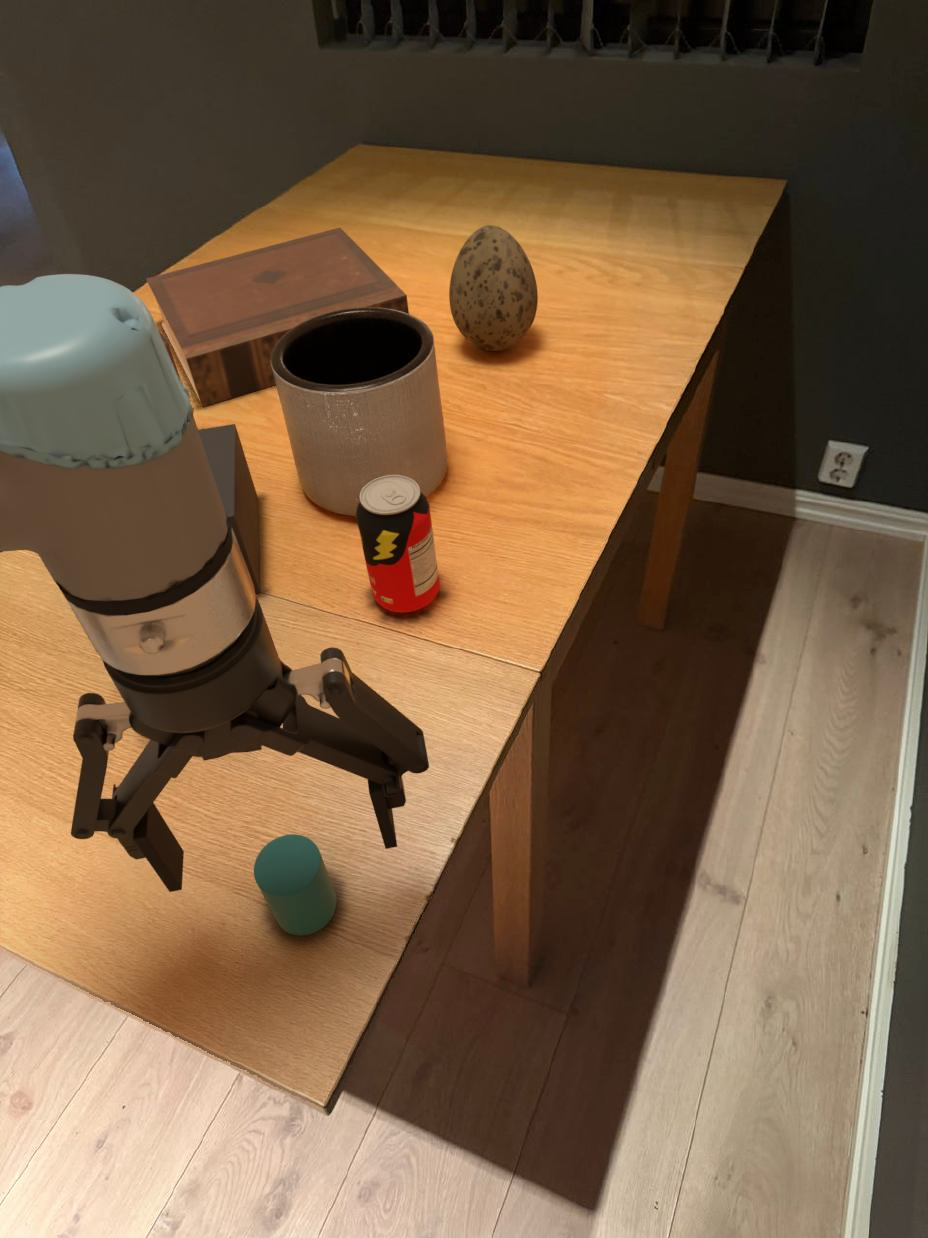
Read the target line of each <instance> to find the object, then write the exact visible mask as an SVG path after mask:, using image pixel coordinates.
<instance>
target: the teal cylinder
mask: <svg viewBox="0 0 928 1238" xmlns="http://www.w3.org/2000/svg"><path fill="white" fill-rule="evenodd" d="M255 858H256V859H255V862H254V866H253V876H254V877H253V878H254V881H255V883H256V884H257V886H258V888H259V890H260V892H261V894H262V896H263V898H264V900H265V902H266V904H267V905H268V908H269V909H270V912H271V913H272V915H273V917H274V920H275V921H276V923H277V925H278V926H279V927H280V929H282V930H283V931H284V932H286V933H288V934H290V935H293V936H302V937H303V936H309V935H312V934H315V933H317V932H318V931H320V930H322V929H323V928H324V927H326V926H327V925H328V924H329V923H330V921H331V920H332V918H333V916H334V915H335V912H336V909H337V903H338V898H337V893H336V890H335V888H334V885H333V883H332V880H331V878H330V875H329V872H328V870H327V867H326V865H325V864H326V863H325V862H324V859H323V857H322V854H321V851H320V849H319V848H318V846H317V844H316V843H315V842H314V841H313V840H312V839H310V838H309V837H306V836H304V835H302V834H285V835H281V836H278V837H276V838H274V839H272V840H271V841H269V842H268V843H267V844H266V845H264V846H263V848H261V850H260V851H259V853H258V855H257V857H255Z"/></svg>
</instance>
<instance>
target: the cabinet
mask: <svg viewBox="0 0 928 1238" xmlns="http://www.w3.org/2000/svg"><path fill="white" fill-rule="evenodd" d="M198 432H199V435H200V438H201V441H202V444H203V447H204V450H205V453H206V456H207V459H208V462H209V465H210V468H211V471H212V474H213V477H214V480H215V483H216V486H217V489H218V492H219V495H220V498H221V501H222V504H223V507H224V510H225V512H226V513H227V516H228V518H229V521H230V524H231V527H232V529H233V531H234V534H235V536H236V539H237V542H238V545H239V547H240V550H241V553H242V555H243V558H244V561H245V563H246V566H247V569H248V571H249V574H250V577H251V580H252V582H253V585H254V589H255V595H257V594H260V593H261V563H260V562H261V560H260V559H261V558H260V556H261V555H260V518H259V517H260V514H259V513H260V512H259V497H258V493H257V491H256V488H255V487H256V486H255V484H254V481H253V478H252V475H251V471H250V467H249V464H248V461H247V458H246V454H245V451H244V448H243V445H242V442H241V438H240V435H239V432H238V428H237V426H236V423H231V424H226V425H225V424H224V425H221V426H213V427H207V428H201V429H198Z"/></svg>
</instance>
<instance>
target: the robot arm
mask: <svg viewBox="0 0 928 1238" xmlns="http://www.w3.org/2000/svg"><path fill="white" fill-rule="evenodd" d="M158 330H159V329H158V326H157V324H156V322H155V320H154V317H153V315H152V313H151V311H150V310H149V308H148V307H147V306H146V304H145V302H144V301H143V300H142V299H141V298H140V297H139V296H138V295H137V294H135V293H134V292H133V291H131V289H129V288H128V287H126V286H124V285H122V284H120V283H118V282H115V281H113V280H111V279H107V278H104V277H102V276H101V277H100V276H96V275H91V274H79V273H61V274H49V275H42V276H38V277H35V278H33V279H31V280H30V281H29V282H26V283H22V284H18V285H12V284H11V285H10V284H9V285H1V286H0V553H3V552H16V551H29V552H33V553H35V554H37V555H38V556H39V558H40V560H41V561H42V563H43V565H44V567H45V568H46V570H47V571H48V573H49V575H50V577H51V578H52V579H53V581H54V583H55V584H56V586H58V588H59V590H60V592H61V593H62V595H63V596H64V599H65V600H66V601H67V603H68V605H69V607H70V609H71V610H72V612H73V613H74V615H75V617H76V619H77V621H78V622H79V624H80V626H81V628H82V630H83V631H84V633H85V634H86V637H87V638H88V640H89V642H90V643H91V646H92V647H93V649H94V650H95V652H96V653H97V655H98V656H99V657H100V659H101V660H102V663H103V666H104V668H105V670H106V672H107V674H108V675H109V678H110V679H111V680H112V683H113V684H114V686H115V688H116V689H117V691H118V693H119V694H120V696H121V698H122V700H123V701H122V702H112V703H106V700H105V698H104V697H103V696H102V695H101V694H99V693H95V692H87V693H83V694H81V696H80V697H79V698H78V704H77V710H76V717H75V722H74V728H73V734H72V739H73V741H74V743H75V746H76V749H77V750H78V753H79V755H80V756H81V758H82V759H81V765H80V771H79V778H78V784H77V790H76V797H75V802H74V811H73V814H72V815H73V816H72V822H71V829H70V836H72V838H75V839H77V840H87V839H91V838H93V836H95V832H105V833H107V835H108V836H109V837H110V838H112V839H117V841H118V842H119V844H120V845H121V847H123V849H124V850H125V852H126V853H127V854H128V856H129V857H130V858H132V859H134V860H136V861H137V860H142V859H146V861H147V862H148V863H149V865H150V866H151V867H152V869H153V870H154V872H155V873H156V875H157V876H158V877H159V879H160V881H162V883H163V885H164V886H165V888H166V889H167V890H168V892H169V893H172V892H177V891H182V890H183V877H184V875H183V873H184V856H185V851H184V849H183V848H182V847H181V844H180V842H179V841H178V840H177V838H176V837H175V835H174V833H173V831H172V830H171V829H170V827H169V825H168V824H167V822H166V821H165V819H164V817H163V816H162V814H161V812H160V811H159V809H158V807H157V806H156V805H155V803H154V802H155V801H156V800H157V798H158V797H159V796H160V794H161V793H162V791H163V790H164V789H165V787H166V786H167V785H168V783H169V782H170V781H171V779H177V778H178V777H179V775H180V774H181V773H182V771H184V769H185V767H186V766H187V764H188V763H189V762H190V761H191V759H192V758H193V757H194V758H202V760H203V762H204V761H209V760H215V759H219V758H222V757H224V756H227V755H229V754H230V755H231V754H240V753H251V752H257V751H262V750H263V747H265V748H268V749H270V750H273V751H275V752H278V753H280V754H283V755H286V756H289V757H293V756H294V755H296V754H297V753H300V754H302V755H305V756H307V757H309V758H313V759H315V760H317V761H320V762H323V763H325V764H327V765H330V766H333V767H335V768H338V769H341V770H343V771H345V772H348V773H351V774H353V775H355V776H358V777H360V778H363V779H365V780H367V787H368V794H369V797H370V801H371V804H372V807H373V812H374V814H375V818H376V822H377V825H378V827H379V828H378V829H379V831H380V835H381V838H382V842H383V845H384V849H385V850H388V849H392V848H396V847H398V841H397V835H396V827H395V820H394V813H393V809H397V808H402V807H405V805H406V802H407V797H406V792H405V791H406V790H405V785H404V779H403V775H404V774H406V773H408V772H409V773H412V774H415V775H417V774H422V773H425V772H426V771H428V770H429V768H430V763H429V757H428V752H427V746H426V741H425V740H426V739H425V735H424V731H423V729H421V727H420V726H418V725H417V724H416V723H414V722H413V721H412V720H410V718H408V717H407V716H406V715H405V714H404V713H402V712H401V711H400V710H399V709H397V708H396V707H395V706H394V705H392V704H391V703H390V702H389V701H388V700H386V699H385V698H384V697H383V696H382V695H380V694H379V693H378V692H377V691H375V689H373V688H372V686H371V687H370V685H368V684H367V683H366V682H365V681H364V680H362V679H361V678H360V677H359V676H358V675H356V674H355V673H354V672H353V671H352V669H351V667H350V664H349V662H348V660H347V658H346V656H345V654H344V652H343V651H342V649H341V648H338V647H327V648H325V649H323V650H322V651H321V652H320V655H319V656H320V663H316V664H311V665H308V666H304V667H301V668H297V669H293V668H291V667H290V666H289V665H287V664H286V663H284V662H283V661H282V660H281V659H280V656H279V653H278V651H277V648H276V645H275V643H274V640H273V637H272V634H271V632H270V628H269V625H268V623H267V620H266V617H265V614H264V612H263V609H262V606H261V603H260V601H259V599H258V598H257V594H255V589H254V585H253V582H252V580H251V577H250V574H249V571H248V569H247V566H246V563H245V561H244V558H243V555H242V553H241V550H240V547H239V545H238V542H237V539H236V536H235V534H234V531H233V529H232V527H231V524H230V521H229V518H228V516H227V513H226V512H225V510H224V507H223V504H222V501H221V498H220V495H219V492H218V489H217V486H216V483H215V480H214V477H213V474H212V471H211V468H210V465H209V462H208V459H207V456H206V453H205V450H204V447H203V444H202V441H201V438H200V435H199V432H198V430H199V428H198V426H196V425H197V422H196V420H195V417H194V409H195V408H194V406H192V404H191V396H190V392H189V390H188V388H187V386H186V385H185V383H184V382H183V380H182V378H181V377H179V376H180V375H179V376H178V375H177V372H176V370H175V368H174V365H173V363H172V361H171V359H170V356H169V354H168V352H167V349H166V347H165V345H164V342H163V340H162V338H161V335H160V333H161V332H160V333H159V331H160V330H159V331H158ZM195 422H196V423H195ZM197 428H198V429H197ZM304 696H308V697H309V696H310V697H312V698H313V699H314V700H315V701H316V702H319V707H320V708H321V709H323V710H329V709H331V710H332V711H333V713H334V714H335V715H336V716H335V715H334V714H330V713H327V712H326V711H323V710H321V709H320V708H317V707H314V706H312V705H310V704H309V703H308V702H307V700H306V698H305V697H304ZM281 726H282V727H281ZM128 729H132V731H134V732H135V733H136V734H137V735H139V736H142V737H144V738H146V739H148V740H149V741H148V742H147V744H146V745H145V747H144V748H143V750H142V751H141V753H140V754H139V755H138V756H137V758H136V760H135V761H134V763H133V764H132V766H131V767H130V769H129V770H128V772H127V773H126V775H125V776H124V778H123V779H122V781H121V782H120V783H119V785H118V786H116V784H115V783H114V784H113V785H112V794H111V798H102V796H103V795H102V794H103V790H104V783H105V779H106V773H107V769H108V762H109V755H110V751H113V750H115V747H116V743H118V742H120V741H121V740H122V739H123V733H124V731H126V730H128Z"/></svg>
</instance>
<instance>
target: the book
mask: <svg viewBox="0 0 928 1238" xmlns="http://www.w3.org/2000/svg"><path fill="white" fill-rule="evenodd" d="M384 271H385V270H384ZM384 271H383V269H382V268H381V267H380V266H379V265H378V264H377V263H376V262H375V261H374V260H373V259H372V258H371V256H369V255H368V254H367V253H366V252H365V251H364V250H363V249H362V248H361V247H360V246H359V245H358V244H357V243H356V241H354V239H352V238H351V237H350V235H349V234H347V233H346V232H345V230H343V228H341V227H337V228H333V229H330V230H325V231H322V232H318V233H314V234H310V235H306V236H303V237H298V238H295V239H291V240H287V241H283V242H280V243H276V244H272V245H269V246H264V247H261V248H257V249H254V250H249V251H246V252H242V253H237V254H234V255H231V256H227V257H223V258H219V259H216V260H212V261H207V262H204V263H200V264H196V265H193V266H188V267H185V268H181V269H178V270H173V271H169V272H166V273H161V274H158V275H154V276H150V277H147V278H145V280H146V282H147V284H148V286H149V288H150V290H151V292H152V294H153V296H154V298H155V300H156V304H157V306H158V309H159V312H160V316H161V318H162V321H163V322H162V323H161V327H162V329H163V330H164V332H165V334H166V336H167V338H168V341H169V342H170V344H171V346H172V348H173V350H174V352H175V354H176V357H177V358H178V361H179V362H180V365H181V367H182V368H183V370H184V372H185V374H186V377H187V378H188V380H189V382H190V385H191V386H192V388H193V390H194V392H195V395H196V397H197V398H198V400H199V402H200V404H201V406H202V408H204V407H208V406H211V405H214V404H217V403H220V402H224V401H227V400H231V399H233V398H237V397H241V396H244V395H247V394H250V393H253V392H256V391H257V392H258V391H260V390H263V389H267V388H270V387H273V386H276V382H275V378H274V374H273V370H272V366H271V361H270V360H271V353H272V350H273V348H274V346H275V344H276V343H277V342H278V340H279V339H280V338H281V337H282V336H283V335H284V334H286V333H287V332H288V331H289V330H291V329H292V328H294V327H295V326H297V325H299V324H300V323H302V322H304V321H306V320H309V319H311V318H314V317H316V316H319V315H322V314H326V313H329V312H333V311H338V310H343V309H350V308H362V307H376V308H387V309H393V310H398V311H402V312H405V313H408V314H410V311H409V302H408V297H407V293H405V291H404V290H403V289H402V288H400V286H399V285H397V283H395V281H394V280H393V279H392V278H391V277H390V276H389V275H388V274H387V273H385V272H384Z"/></svg>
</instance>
